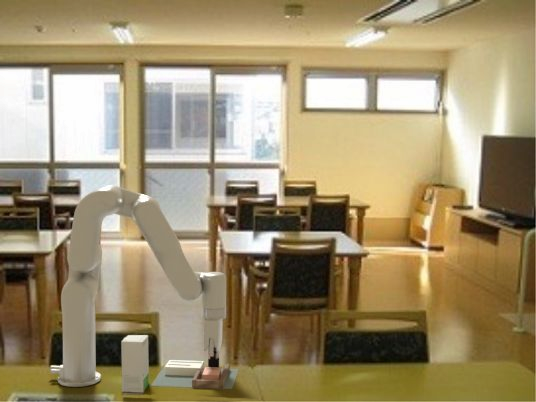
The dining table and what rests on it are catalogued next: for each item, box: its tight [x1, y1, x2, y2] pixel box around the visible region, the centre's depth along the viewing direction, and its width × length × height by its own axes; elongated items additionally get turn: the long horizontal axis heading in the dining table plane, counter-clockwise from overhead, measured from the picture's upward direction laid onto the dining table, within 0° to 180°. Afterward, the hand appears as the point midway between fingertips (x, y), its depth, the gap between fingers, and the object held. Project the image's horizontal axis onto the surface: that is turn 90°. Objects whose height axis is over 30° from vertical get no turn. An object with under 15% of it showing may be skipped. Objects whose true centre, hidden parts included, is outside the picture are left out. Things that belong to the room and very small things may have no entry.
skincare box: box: [120, 334, 150, 396], centre depth 202 cm, size 8×7×16 cm
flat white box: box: [165, 359, 205, 376], centre depth 217 cm, size 11×7×3 cm, turn 86°
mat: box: [150, 365, 240, 390], centre depth 212 cm, size 24×18×1 cm
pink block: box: [202, 366, 222, 380], centre depth 211 cm, size 5×7×3 cm
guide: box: [191, 363, 231, 389], centre depth 211 cm, size 9×17×2 cm, turn 176°
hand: (213, 370), depth 216 cm, fingers closed
